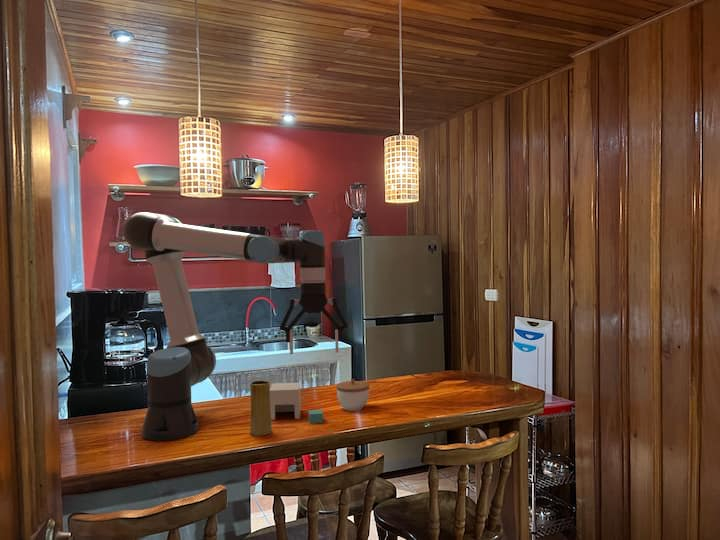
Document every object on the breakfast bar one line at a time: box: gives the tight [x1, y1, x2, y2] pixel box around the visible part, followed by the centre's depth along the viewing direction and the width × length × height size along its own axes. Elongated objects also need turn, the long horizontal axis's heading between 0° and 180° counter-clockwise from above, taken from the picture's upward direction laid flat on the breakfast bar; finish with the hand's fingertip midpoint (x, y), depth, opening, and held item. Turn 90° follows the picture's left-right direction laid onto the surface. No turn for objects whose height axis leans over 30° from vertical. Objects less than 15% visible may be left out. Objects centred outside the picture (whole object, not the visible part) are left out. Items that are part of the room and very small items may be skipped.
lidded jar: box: [335, 378, 370, 412], centre depth 168 cm, size 11×11×9 cm
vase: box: [249, 379, 273, 437], centre depth 146 cm, size 6×6×14 cm
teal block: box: [308, 409, 324, 425], centre depth 155 cm, size 4×4×3 cm
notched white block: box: [270, 382, 301, 421], centre depth 162 cm, size 9×9×9 cm
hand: (314, 352), depth 155 cm, fingers open, 13 cm apart
